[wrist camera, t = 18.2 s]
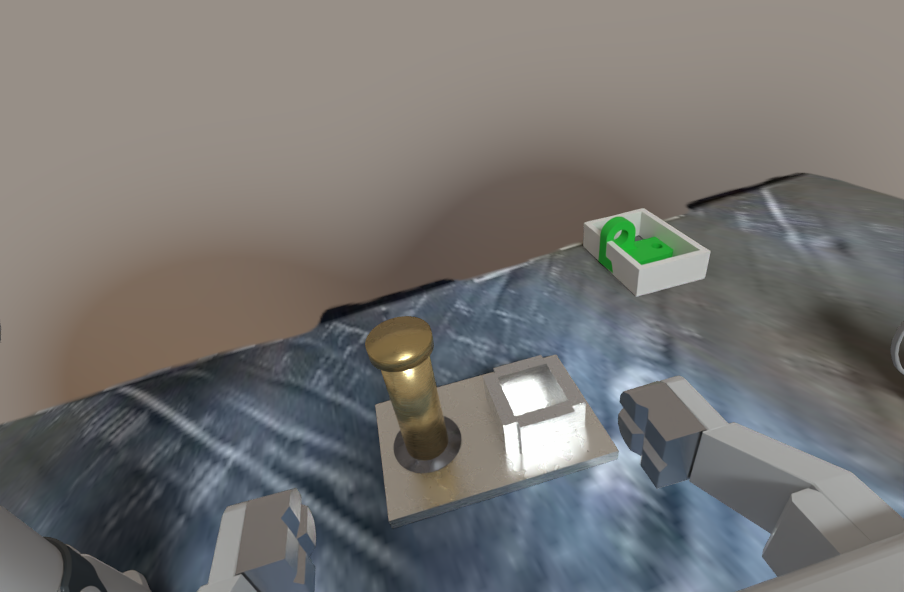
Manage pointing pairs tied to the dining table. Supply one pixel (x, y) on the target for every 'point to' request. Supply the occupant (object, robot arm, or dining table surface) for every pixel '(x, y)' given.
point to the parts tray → (656, 275)
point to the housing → (494, 440)
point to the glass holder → (897, 347)
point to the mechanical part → (631, 243)
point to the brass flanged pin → (410, 383)
